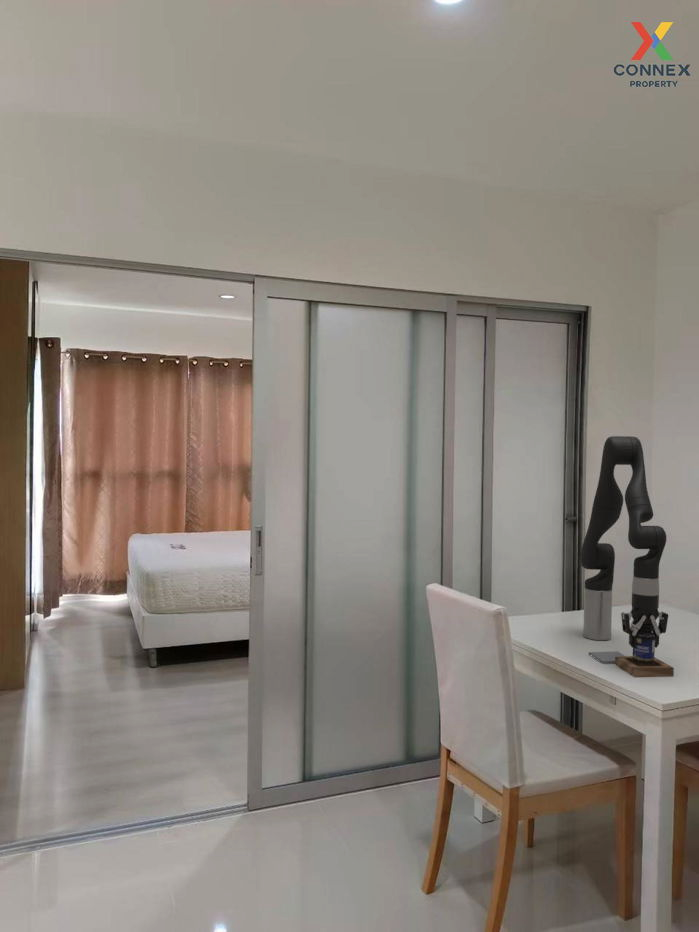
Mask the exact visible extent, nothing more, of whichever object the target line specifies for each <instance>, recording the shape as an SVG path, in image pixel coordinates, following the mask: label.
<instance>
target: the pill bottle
mask: <svg viewBox="0 0 699 932" xmlns="http://www.w3.org/2000/svg"><path fill="white" fill-rule="evenodd" d="M636 625H637V624H636ZM652 630H653V625H648V626H647V625H646V626H641V628H640V629H639V630H638V631H637V633H636V635H635V636H637V638H636V648H632V656H633V657H632V658H633V660H634V661H636V662H641V663H653V662H654V657H655V651H656V650H655V649H656V647H655V634H654V633H653V632H652Z"/></svg>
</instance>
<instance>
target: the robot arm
mask: <svg viewBox="0 0 699 932" xmlns="http://www.w3.org/2000/svg"><path fill="white" fill-rule="evenodd" d="M641 442H642V441H641V440H640V439H639V438H638V437H636V436H632V435H631V436H627V435H626V436H625V435H623V436H621V435H619V436H618V435H617V436H616V435H612V436H609V437H607V438H606V440H605V442H604V445H603V450H602V456H601V463H600V464H601V465H600V471H599V477H598V482H597V486H596V491H595V495H594V499H593V503H592V508H591V514H590V519H589V524H588V527H587V530H586V534H585V537H584V540H583V542H582V546H581V548H580V549H581V551H580V557H579V558H580V559H579V560H580V564H581V566H582V567H583V568H584V569H586V570H599V572H598V573H597V574H595V575H594V576H593V575H592V577H588V578H586V579H585V580H584V593H583V594H584V598H583V599H584V600H583V603H584V605H583V607H584V608H583V633H582V634H583V637H584V638H586V639H590V640H595V641H610V640H611V639H612V620H613V619H612V613H613V586H614V585H613V584H614V574H615V564H616V563H615V562H616V560H615V559H616V552H615V548H614V547H613V545H612V544H611V543H605V542H601V543H599V542H600V539H601V538H602V537H603V536H604V535H605V533H607V531H609V530H610V529H611V528H612V527H613V526H614V525H615V524H616V523H617V522H618V520H619V519H620V516H621V514H622V508H623V504H624V502H625V505H626V511H627V514H628V532H627V534H628V536H627V539H628V543H629V545H630V546H631V547H632V548H633V549H636V550H648V552H647V553H646V554H644V555H641V556H637V557H635V558H634V560H633V577H632V584H631V611H630V612H626V613H625V612H624V611H623V612H621V613H620V615H621V625H622V626H621V627H622V631H623V632H624V633H625V634H628V644H629V646H630V647H631V648H632V649H633V648H636V638H637V636H635V635H636V633H637V631H638V630H639V629H640V628H641V626H646V625H647V626H648V625H653V630H652V633H654V634H655V648H658V646H659V645H660V635H662V634H666V632H667V626H668V620H669V614H668V613H667V612H665V611H661V612H660V611H659V608H660V607H659V606H660V603H659V602H660V580H659V579H660V578H659V577H660V576H659V575H660V574H659V571H660V563H661V558H662V557H663V554H664V553H663V552H664V550H665V547H666V545H667V544H666V543H667V533H666V531H665V529H664V528H663V527H662V526H660V525H642V524H644V523H648V522H649V521H651V520H652V519H653V517H654V511H653V507H652V503H651V499H650V495H649V493H648V487H647V475H646V466H645V458H644V457H645V456H644V451H643V445H642V443H641ZM617 465H619V466H622V465H623V466H624V465H625V466H630V467H631V470H632V472H631V473H632V474H631V478H630V481H629V482H628V484H627V487H626V489H625V493H624V496H623V493H622V490H621V489H620V487H619V484H618V483H617V481H616V478H615V468H616V466H617ZM631 618H632V621H631ZM657 619H658V623H657ZM630 621H631V623H630ZM636 624H637V625H636Z"/></svg>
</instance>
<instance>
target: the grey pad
mask: <svg viewBox="0 0 699 932" xmlns="http://www.w3.org/2000/svg"><path fill="white" fill-rule="evenodd" d="M588 653H589V654H590V655H592V656H593V657H595V658H596V659H598V660H599V661H601V662H602V663H615V657H621V656H626V655H624V654H623V653H621V652H620V651H589V652H588ZM590 655H589V656H590ZM593 657H592V658H593ZM595 658H594V659H595ZM596 659H595V660H596ZM598 660H597V661H598ZM599 661H598V662H599ZM601 662H600V663H601ZM602 663H601V664H602Z"/></svg>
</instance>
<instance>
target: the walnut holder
mask: <svg viewBox="0 0 699 932" xmlns="http://www.w3.org/2000/svg"><path fill="white" fill-rule="evenodd" d="M632 657H633V655H631V656H629V655H627V656H626V655H625V656H621V657H615V664H616V665H617V667H618V666H619V667H618V668H619V669H621V668H622V669H621V670H622V671H624V670H625V671H624V672H626V673H627V672H628V673H627V674H629V675H631V676H632V675H633V677H634V678H649V677H650V678H653V677H655V678H657V677H674V674H675V673H674V671H675V668H674V667H673V666H671V665H670V664H668V663H666V662H665V661H662V660H660V659H659V658H657V657H655V656H654V662H653V663H641V662H636V661H634V660H633V658H632ZM615 664H614V665H615ZM616 665H615V666H616ZM656 676H657V677H656Z"/></svg>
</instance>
